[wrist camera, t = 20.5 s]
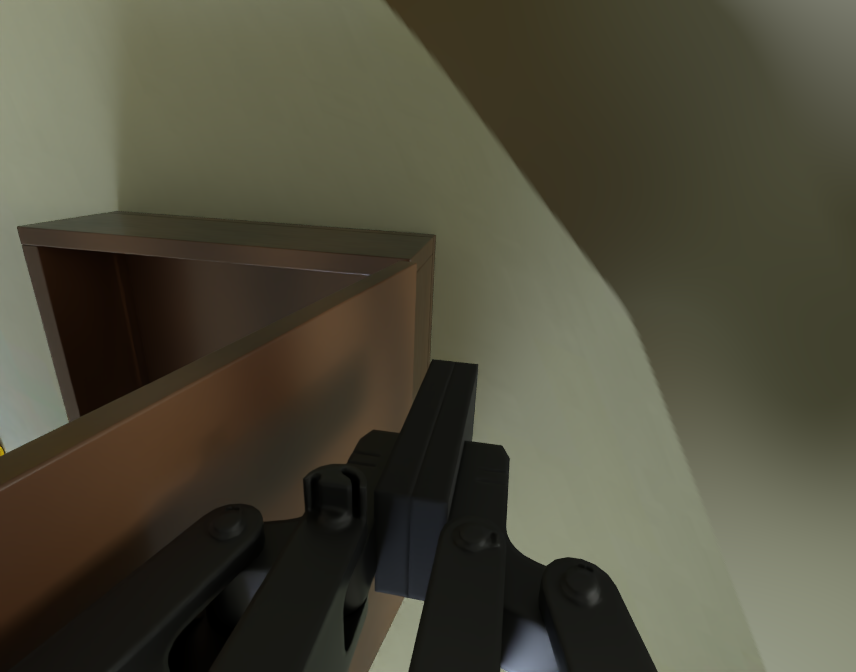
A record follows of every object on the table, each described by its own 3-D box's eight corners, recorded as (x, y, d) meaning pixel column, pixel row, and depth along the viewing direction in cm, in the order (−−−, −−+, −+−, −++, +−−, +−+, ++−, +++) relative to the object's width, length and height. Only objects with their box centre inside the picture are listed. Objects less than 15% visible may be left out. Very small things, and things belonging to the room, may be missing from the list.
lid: (-61, 1458, 9) (-34, 1495, 9) (-1415, 1140, 2) (-1454, 1271, 2) (393, 590, 27) (406, 594, 27) (399, 260, 20) (417, 262, 20)
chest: (165, 466, 37) (96, 527, 31) (116, 210, 30) (15, 226, 24) (423, 508, 33) (401, 585, 28) (436, 234, 27) (410, 259, 21)
